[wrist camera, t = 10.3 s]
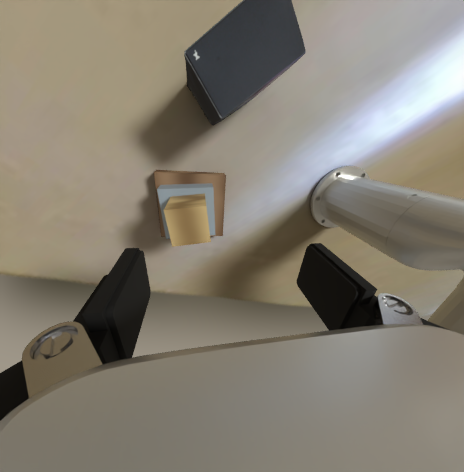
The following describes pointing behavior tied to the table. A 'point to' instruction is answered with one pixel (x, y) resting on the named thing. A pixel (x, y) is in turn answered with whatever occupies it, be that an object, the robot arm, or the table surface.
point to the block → (187, 219)
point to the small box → (242, 55)
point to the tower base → (195, 178)
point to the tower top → (187, 189)
